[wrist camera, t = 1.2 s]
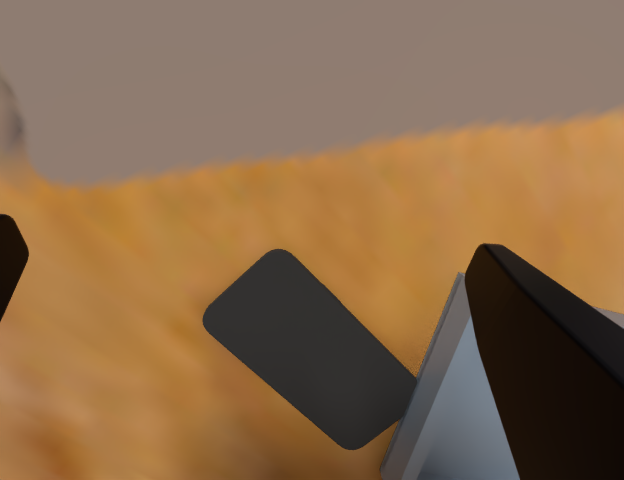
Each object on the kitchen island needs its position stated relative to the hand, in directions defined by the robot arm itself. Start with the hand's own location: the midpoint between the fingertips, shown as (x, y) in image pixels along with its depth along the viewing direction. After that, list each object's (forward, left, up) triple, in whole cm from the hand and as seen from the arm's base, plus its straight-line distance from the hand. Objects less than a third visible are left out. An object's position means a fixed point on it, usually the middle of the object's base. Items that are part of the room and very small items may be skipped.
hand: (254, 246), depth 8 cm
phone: (-11, -5, -16) cm, 20 cm away
